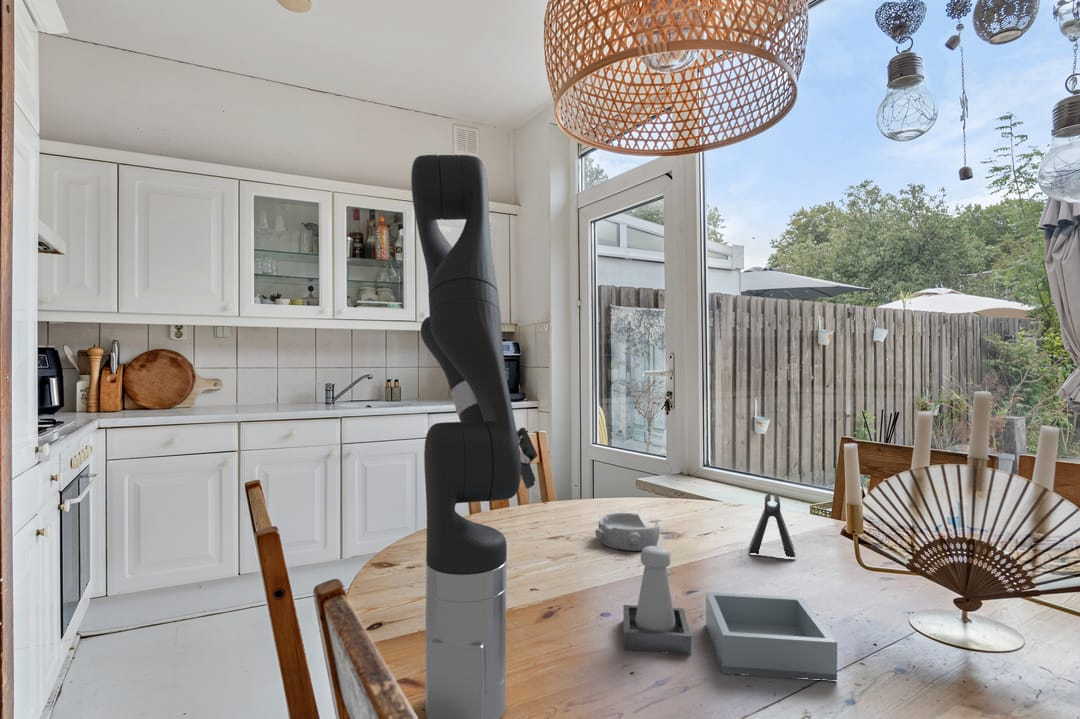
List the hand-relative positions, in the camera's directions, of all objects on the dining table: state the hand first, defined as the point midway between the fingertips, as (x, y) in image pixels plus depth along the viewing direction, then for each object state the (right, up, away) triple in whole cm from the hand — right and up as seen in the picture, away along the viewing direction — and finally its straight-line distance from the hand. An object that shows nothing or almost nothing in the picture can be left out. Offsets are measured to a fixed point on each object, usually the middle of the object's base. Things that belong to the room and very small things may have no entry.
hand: (509, 493), depth 99 cm
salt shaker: (+22, -18, -13) cm, 31 cm away
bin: (+37, -18, -17) cm, 44 cm away
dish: (+25, -18, +31) cm, 44 cm away
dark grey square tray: (+22, -18, -13) cm, 31 cm away
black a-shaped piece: (+54, -18, +24) cm, 62 cm away
